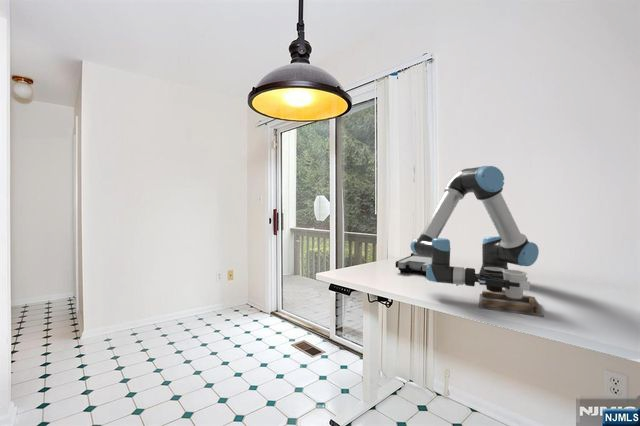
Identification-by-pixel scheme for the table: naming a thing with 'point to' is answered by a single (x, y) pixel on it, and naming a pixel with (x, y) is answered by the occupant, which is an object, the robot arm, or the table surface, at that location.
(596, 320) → the table surface
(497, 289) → the coffee mug
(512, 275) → the dixie cup
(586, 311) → the table surface
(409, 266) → the game console
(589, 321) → the table surface
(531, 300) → the tray with wooden rails
